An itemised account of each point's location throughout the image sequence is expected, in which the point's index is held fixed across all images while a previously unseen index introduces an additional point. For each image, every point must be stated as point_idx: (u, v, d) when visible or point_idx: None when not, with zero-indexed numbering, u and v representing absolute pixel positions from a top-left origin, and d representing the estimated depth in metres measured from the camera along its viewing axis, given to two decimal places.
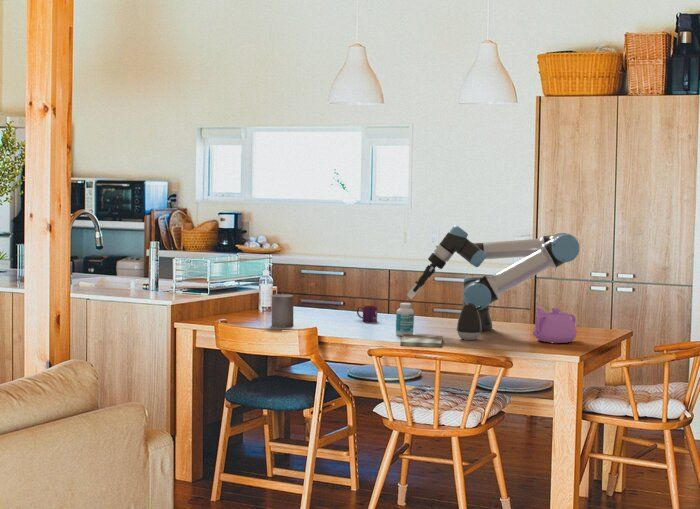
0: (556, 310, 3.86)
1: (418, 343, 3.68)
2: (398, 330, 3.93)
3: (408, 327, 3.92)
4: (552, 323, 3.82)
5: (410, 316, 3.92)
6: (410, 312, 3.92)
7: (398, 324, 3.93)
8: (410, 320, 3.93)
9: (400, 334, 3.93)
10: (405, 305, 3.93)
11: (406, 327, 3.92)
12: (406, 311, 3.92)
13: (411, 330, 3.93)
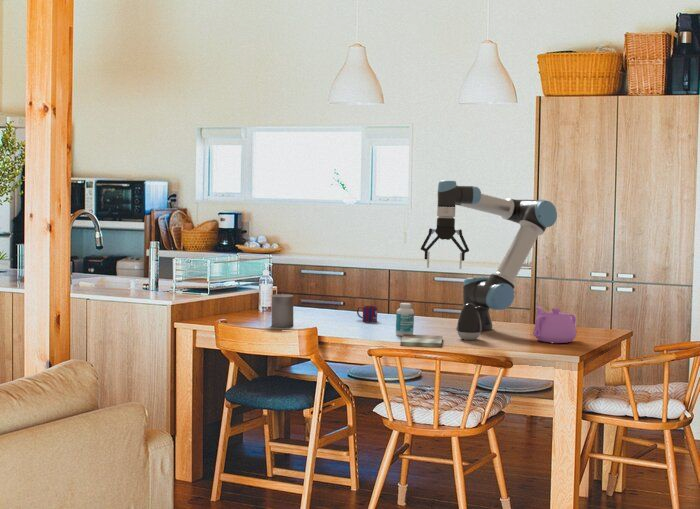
0: (556, 310, 3.86)
1: (418, 343, 3.68)
2: (398, 330, 3.93)
3: (408, 327, 3.92)
4: (552, 323, 3.82)
5: (410, 316, 3.92)
6: (410, 312, 3.92)
7: (398, 324, 3.93)
8: (410, 320, 3.93)
9: (400, 334, 3.93)
10: (405, 305, 3.93)
11: (406, 327, 3.92)
12: (406, 311, 3.92)
13: (411, 330, 3.93)
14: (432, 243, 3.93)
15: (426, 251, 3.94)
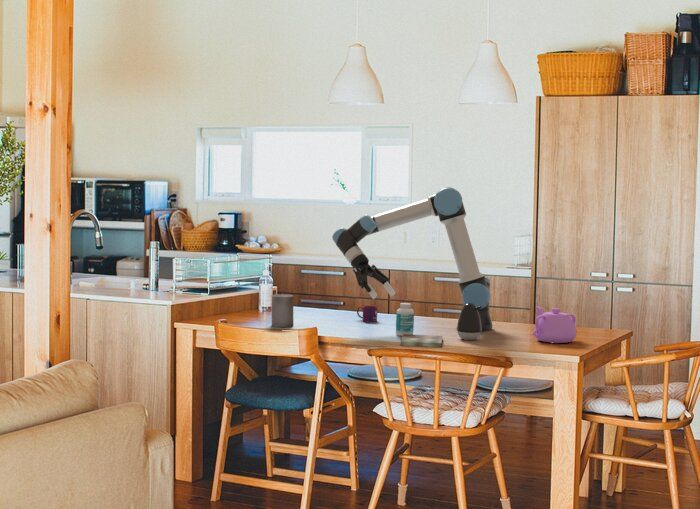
0: (556, 310, 3.86)
1: (418, 343, 3.68)
2: (398, 330, 3.93)
3: (408, 327, 3.92)
4: (552, 323, 3.82)
5: (410, 316, 3.92)
6: (410, 312, 3.92)
7: (398, 324, 3.93)
8: (410, 320, 3.93)
9: (400, 334, 3.93)
10: (405, 305, 3.93)
11: (406, 327, 3.92)
12: (406, 311, 3.92)
13: (411, 330, 3.93)
14: None
15: None
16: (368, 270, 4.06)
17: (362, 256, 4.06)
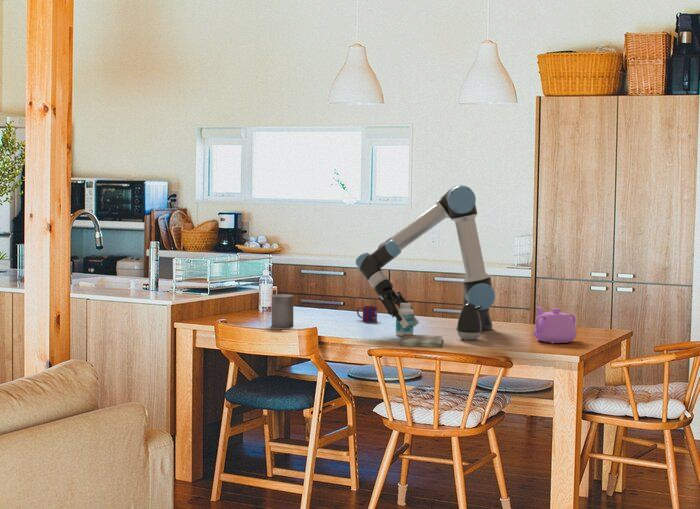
0: (556, 310, 3.86)
1: (418, 343, 3.68)
2: (398, 330, 3.93)
3: (408, 327, 3.92)
4: (552, 323, 3.82)
5: (410, 316, 3.92)
6: (410, 312, 3.92)
7: (398, 324, 3.93)
8: (410, 320, 3.93)
9: (400, 334, 3.93)
10: (405, 305, 3.93)
11: (406, 327, 3.92)
12: (406, 311, 3.92)
13: (411, 330, 3.93)
14: None
15: None
16: (392, 296, 3.99)
17: (386, 281, 3.99)
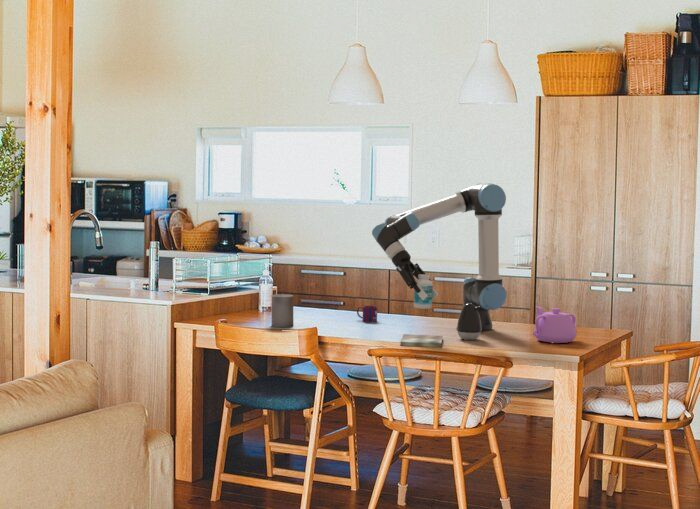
0: (556, 310, 3.86)
1: (418, 343, 3.68)
2: (416, 302, 3.80)
3: (427, 298, 3.79)
4: (552, 323, 3.82)
5: (429, 288, 3.79)
6: (429, 283, 3.79)
7: (416, 296, 3.80)
8: (429, 292, 3.79)
9: (418, 306, 3.79)
10: (424, 276, 3.79)
11: (425, 299, 3.78)
12: (425, 282, 3.78)
13: (430, 302, 3.80)
14: None
15: None
16: (410, 267, 3.85)
17: (404, 252, 3.85)
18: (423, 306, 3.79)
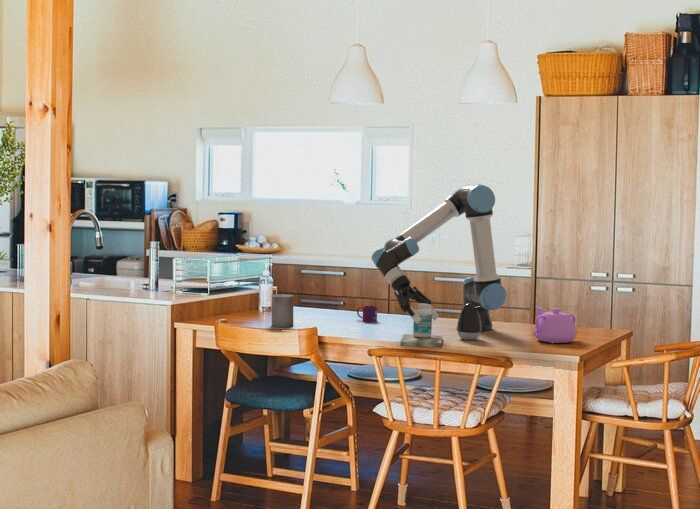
0: (556, 310, 3.86)
1: (418, 343, 3.68)
2: (416, 331, 3.80)
3: (426, 328, 3.79)
4: (552, 323, 3.82)
5: (428, 317, 3.80)
6: (428, 313, 3.79)
7: (416, 325, 3.80)
8: (428, 321, 3.80)
9: (418, 335, 3.80)
10: (423, 305, 3.80)
11: (424, 328, 3.79)
12: (424, 312, 3.79)
13: (429, 331, 3.81)
14: None
15: None
16: (410, 292, 3.86)
17: (403, 278, 3.86)
18: (422, 335, 3.79)
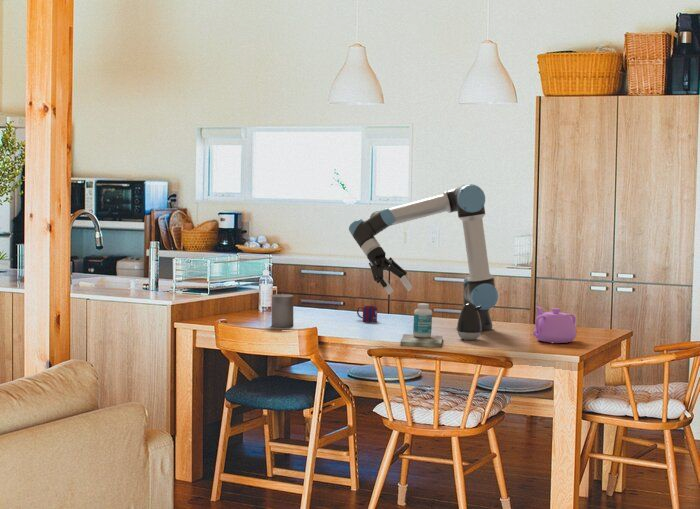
0: (556, 310, 3.86)
1: (418, 343, 3.68)
2: (416, 331, 3.80)
3: (426, 328, 3.79)
4: (552, 323, 3.82)
5: (428, 317, 3.80)
6: (428, 313, 3.79)
7: (416, 325, 3.80)
8: (428, 321, 3.80)
9: (418, 335, 3.80)
10: (423, 305, 3.80)
11: (424, 328, 3.79)
12: (424, 312, 3.79)
13: (429, 331, 3.81)
14: None
15: None
16: (384, 264, 3.94)
17: (379, 249, 3.94)
18: (422, 335, 3.79)
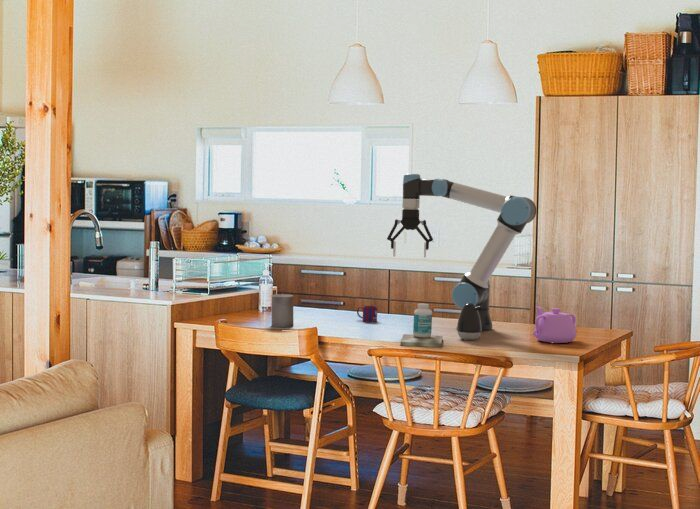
0: (556, 310, 3.86)
1: (418, 343, 3.68)
2: (416, 331, 3.80)
3: (426, 328, 3.79)
4: (552, 323, 3.82)
5: (428, 317, 3.79)
6: (428, 313, 3.79)
7: (416, 325, 3.80)
8: (428, 321, 3.80)
9: (418, 335, 3.80)
10: (423, 305, 3.80)
11: (424, 328, 3.79)
12: (424, 312, 3.79)
13: (429, 331, 3.81)
14: None
15: None
16: (410, 226, 4.15)
17: (407, 212, 4.12)
18: (422, 335, 3.79)
